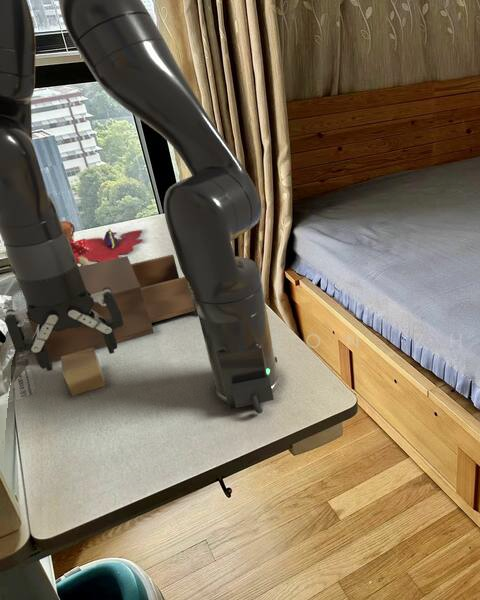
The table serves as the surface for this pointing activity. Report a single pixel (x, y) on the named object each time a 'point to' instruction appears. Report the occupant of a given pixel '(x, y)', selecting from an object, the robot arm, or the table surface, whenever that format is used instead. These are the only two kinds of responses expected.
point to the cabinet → (104, 309)
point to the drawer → (163, 288)
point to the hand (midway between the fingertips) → (81, 359)
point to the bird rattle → (80, 251)
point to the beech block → (82, 371)
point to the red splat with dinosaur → (111, 246)
